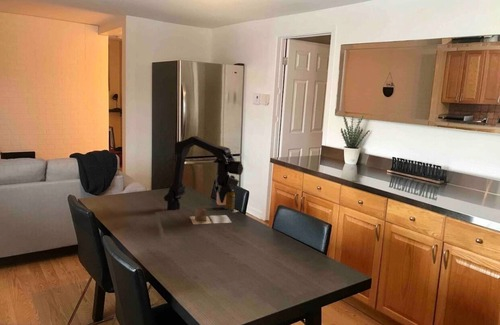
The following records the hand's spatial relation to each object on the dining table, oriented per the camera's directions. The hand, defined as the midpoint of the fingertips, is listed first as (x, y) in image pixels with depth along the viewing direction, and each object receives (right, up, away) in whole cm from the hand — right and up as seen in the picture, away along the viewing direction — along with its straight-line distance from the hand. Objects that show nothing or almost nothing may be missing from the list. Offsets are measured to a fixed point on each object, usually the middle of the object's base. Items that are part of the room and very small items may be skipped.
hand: (221, 201), depth 205 cm
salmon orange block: (0, -1, 0) cm, 1 cm away
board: (-6, -10, 0) cm, 12 cm away
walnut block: (-10, -9, -2) cm, 14 cm away
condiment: (+3, -8, +22) cm, 23 cm away
